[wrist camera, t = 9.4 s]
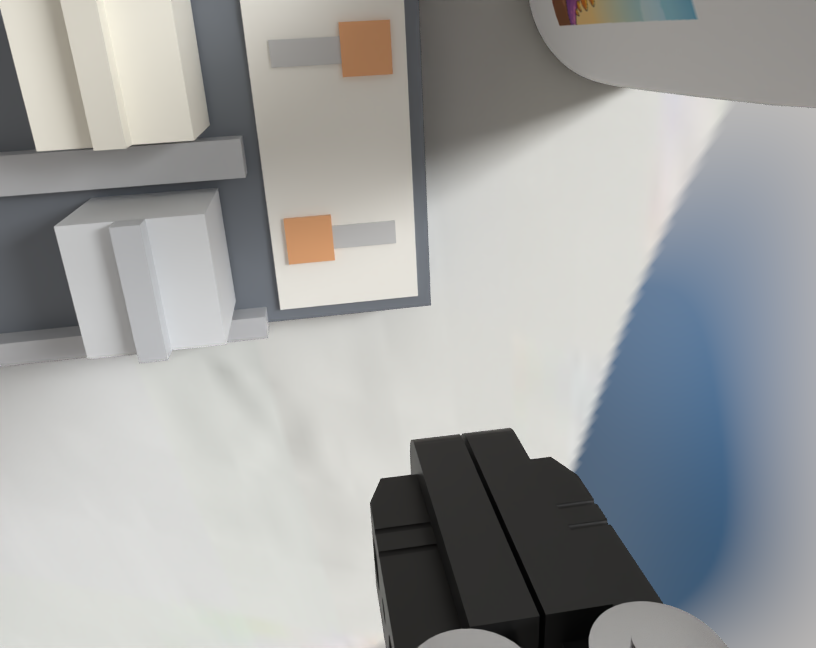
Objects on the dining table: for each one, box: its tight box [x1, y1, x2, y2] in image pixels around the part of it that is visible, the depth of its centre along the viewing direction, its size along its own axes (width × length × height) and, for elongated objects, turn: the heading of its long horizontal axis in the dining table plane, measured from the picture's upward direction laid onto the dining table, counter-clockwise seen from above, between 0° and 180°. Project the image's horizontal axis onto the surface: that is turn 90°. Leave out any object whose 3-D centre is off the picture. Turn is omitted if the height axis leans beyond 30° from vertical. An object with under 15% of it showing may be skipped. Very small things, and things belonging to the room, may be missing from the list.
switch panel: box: [0, 0, 431, 367], centre depth 22 cm, size 12×24×3 cm, turn 93°
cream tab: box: [0, 0, 210, 151], centre depth 19 cm, size 4×4×4 cm
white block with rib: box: [54, 188, 236, 363], centre depth 21 cm, size 4×4×4 cm
